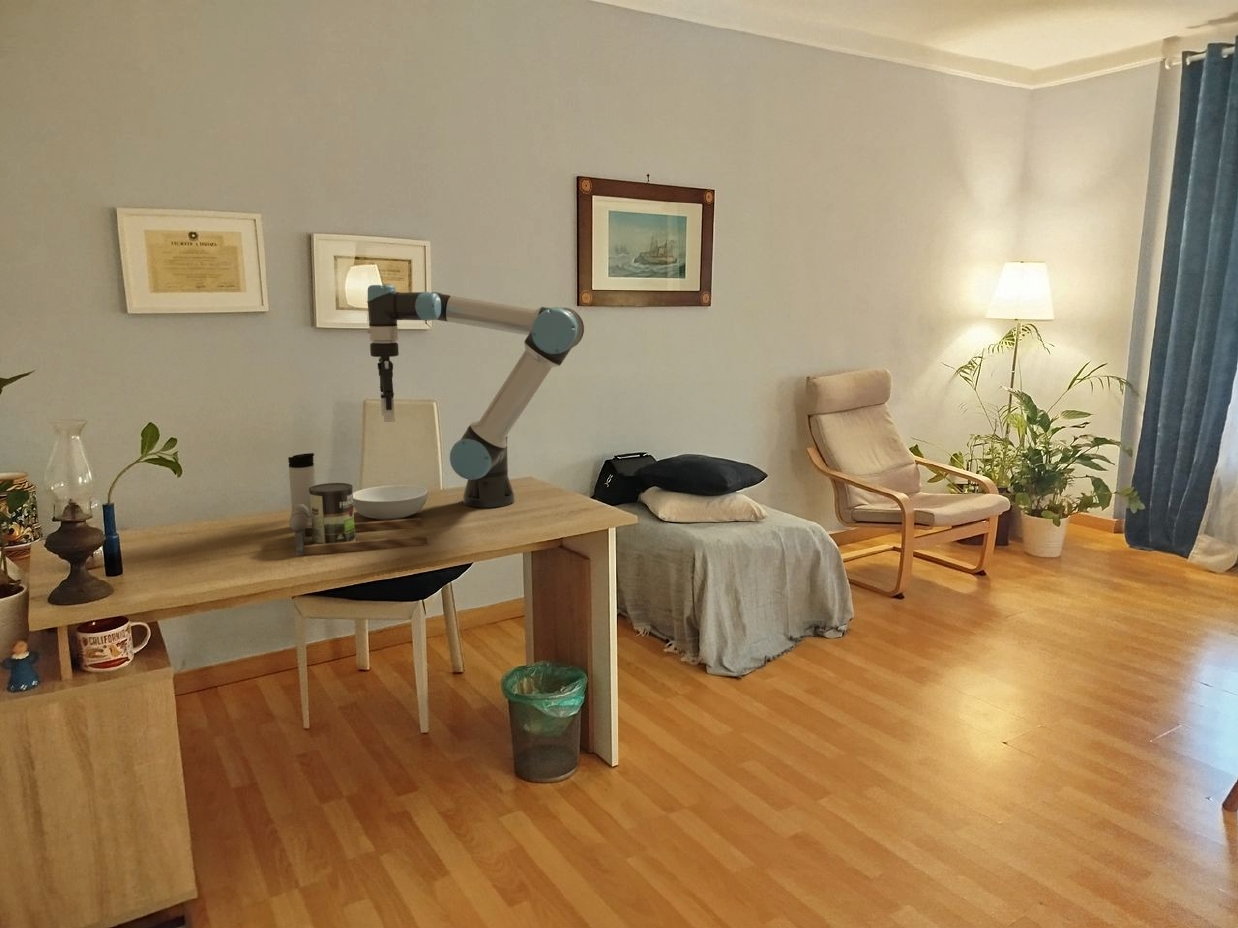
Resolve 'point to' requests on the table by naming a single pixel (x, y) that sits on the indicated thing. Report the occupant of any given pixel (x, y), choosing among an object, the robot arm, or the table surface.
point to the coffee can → (332, 513)
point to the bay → (300, 522)
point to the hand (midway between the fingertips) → (388, 418)
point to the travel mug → (302, 480)
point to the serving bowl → (389, 501)
